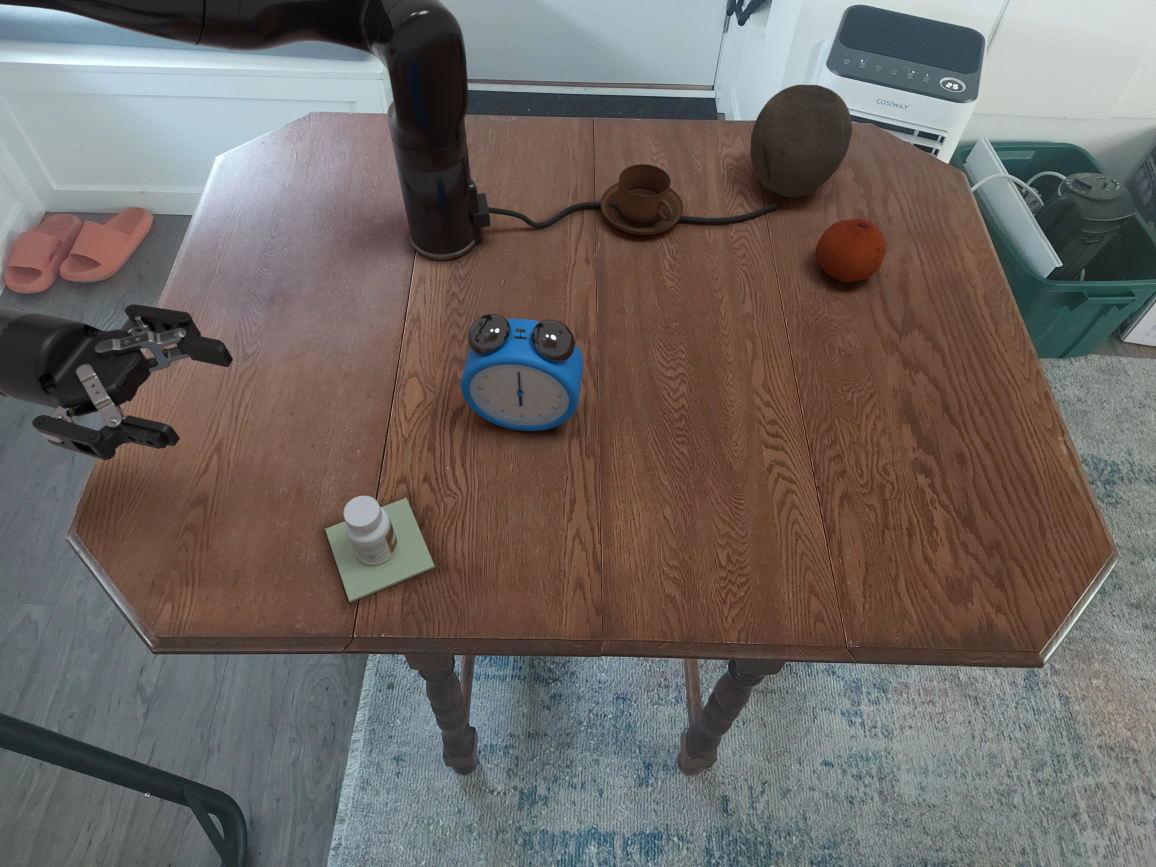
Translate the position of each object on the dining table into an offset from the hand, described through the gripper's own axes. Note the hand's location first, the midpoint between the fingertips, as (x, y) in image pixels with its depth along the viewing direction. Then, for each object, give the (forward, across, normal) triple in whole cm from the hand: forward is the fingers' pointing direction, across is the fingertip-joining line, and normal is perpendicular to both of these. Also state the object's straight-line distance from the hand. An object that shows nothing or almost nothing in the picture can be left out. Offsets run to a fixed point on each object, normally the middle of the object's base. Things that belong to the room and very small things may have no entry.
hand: (202, 394), depth 62 cm
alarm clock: (+21, +21, +23) cm, 37 cm away
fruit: (+56, +56, +23) cm, 83 cm away
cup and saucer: (+27, +60, +23) cm, 70 cm away
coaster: (+11, 0, +23) cm, 25 cm away
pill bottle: (+11, 0, +22) cm, 25 cm away
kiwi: (+47, +73, +24) cm, 90 cm away
